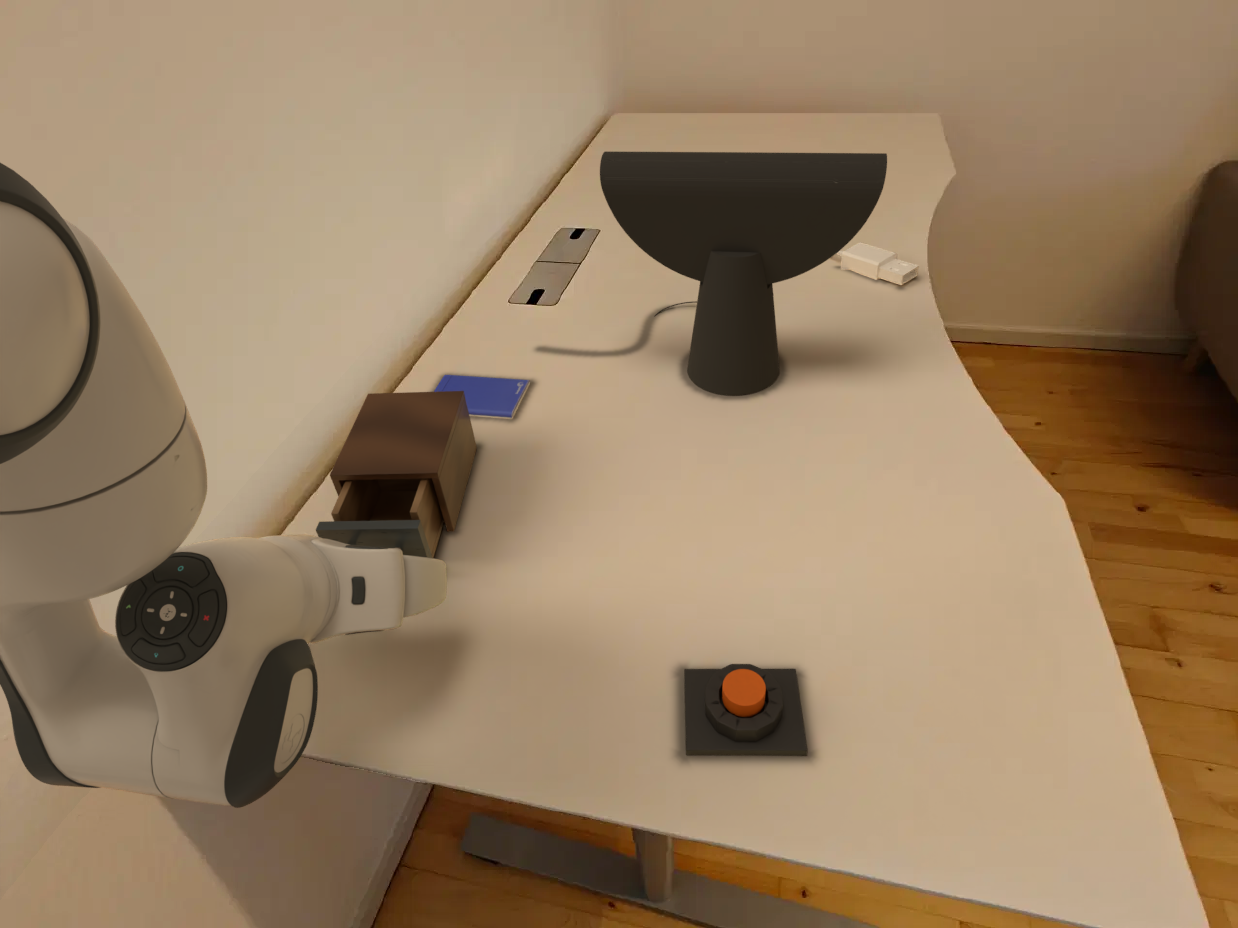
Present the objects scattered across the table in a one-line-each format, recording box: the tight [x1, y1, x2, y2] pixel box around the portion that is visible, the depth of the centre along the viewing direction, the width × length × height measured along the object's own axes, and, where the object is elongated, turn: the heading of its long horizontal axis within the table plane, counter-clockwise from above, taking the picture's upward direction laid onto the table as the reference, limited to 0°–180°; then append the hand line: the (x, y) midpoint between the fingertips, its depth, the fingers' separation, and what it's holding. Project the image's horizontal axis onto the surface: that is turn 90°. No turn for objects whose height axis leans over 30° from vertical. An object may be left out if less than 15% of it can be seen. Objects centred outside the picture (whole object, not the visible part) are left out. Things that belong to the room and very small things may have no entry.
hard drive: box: [433, 374, 531, 420], centre depth 109 cm, size 2×8×12 cm
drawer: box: [315, 478, 445, 558], centre depth 86 cm, size 18×10×8 cm, turn 177°
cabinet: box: [329, 391, 478, 533], centre depth 93 cm, size 15×12×10 cm
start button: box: [722, 669, 766, 717], centre depth 69 cm, size 4×4×2 cm
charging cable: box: [835, 241, 920, 286], centre depth 134 cm, size 5×32×3 cm, turn 41°
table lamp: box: [599, 151, 888, 397], centre depth 104 cm, size 40×28×30 cm
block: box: [683, 663, 808, 757], centre depth 70 cm, size 8×10×4 cm
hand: (361, 577), depth 78 cm, fingers closed
